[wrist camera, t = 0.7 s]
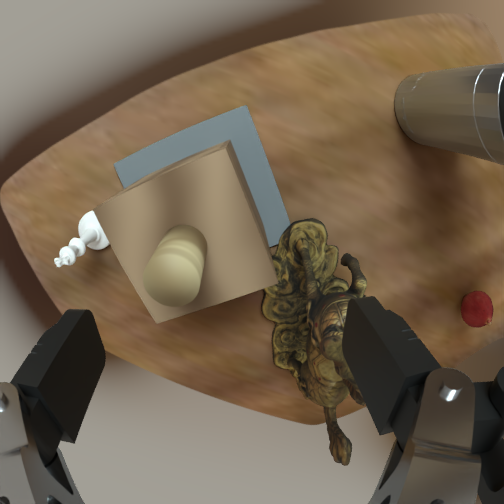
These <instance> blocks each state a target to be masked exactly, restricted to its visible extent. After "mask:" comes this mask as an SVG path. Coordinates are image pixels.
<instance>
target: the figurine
mask: <svg viewBox="0 0 504 504" xmlns="http://www.w3.org/2000/svg"><path fill="white" fill-rule="evenodd" d="M327 237H328V235H327V231H326V228H325V226H324V224H323V223H322V222H321V221H319V220H317V219H313V218H311V219H305V220H300V221H295V222H293V223H292V224H291V225H289V226H288V227H287V228H286V230H285V231H284V232H283V234H282V235H281V237H280V240H279V243H278V248H277V251H276V254H275V255H272V259H273V263H274V267H275V271H276V275H277V279H278V284H275V285H272V286H269V287H267V288H264V289H263V290H264V292H265V294H264V299H263V301H262V306H261V307H262V313H263V315H264V316H265V317H266V318H267V319H269V320H271V321H274V322H275V323H276V325H275V328H274V330H273V334H272V347H273V360H274V364H275V365H276V366H278V367H279V368H282V369H289V370H290V372H291V374H292V376H293V377H296V379H297V384H298V387H299V390H300V391H302V392H303V395H304V397H305V398H306V399H310V400H311V401H313V402H314V403H316V404H318V405H320V406H323V407H324V413H325V417H326V424H327V431H328V434H329V440H330V446H329V449H330V452H331V455H332V456H333V457H334V461H335V462H337V463H342V465H344V466H345V465H348V464H349V462H350V457H351V452H352V443H351V442H350V440H349V439H348V438H347V437H346V436H345V435H344V433H343V432H342V430H341V429H340V428H339V426H338V424H337V419H336V406H337V405H338V404H339V403H341V402H342V401H343V400H344V399H345V398H346V397H347V396H348V394H349V392H350V395H351V397H352V398H353V399H354V400H355V401H356V402H357V403H358V404H360V405H363V406H364V404H365V401H364V399H363V397H362V395H361V392H360V390H359V388H358V386H357V384H356V382H355V379H354V377H353V375H352V373H351V371H350V369H349V367H348V365H347V362H346V360H345V358H344V355H343V351H342V337H343V331H344V325H345V319H346V312H347V306H348V302H349V300H350V299H352V298H361V297H366V295H364V292H365V289H366V285H367V280H366V278H365V276H364V275H363V273H362V272H361V270H360V267H359V262H358V260H357V259H356V258H354V257H352V256H351V255H350V254H348V253H346V254H344V255H343V257H342V258H341V264H342V265H343V266H348V268H349V270H351V273H352V284H351V286H350V288H349V286H348V283H347V282H346V281H345V280H343V279H340V278H337V277H334V275H333V272H334V271H335V269H336V267H337V263H338V248H337V247H336V246H333V245H327V243H326V241H327Z"/></svg>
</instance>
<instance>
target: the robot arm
mask: <svg viewBox="0 0 504 504" xmlns="http://www.w3.org/2000/svg"><path fill="white" fill-rule="evenodd" d="M395 112H396V117H397V119H398V122H399V124H400V126H401V128H402V130H403V131H404V132H405V134H406V135H407V136H408V137H409V138H410V139H412V140H413V141H415V142H417V143H419V144H422V145H426V146H431V147H436V148H440V149H444V150H448V151H453V152H457V153H461V154H465V155H469V156H473V157H477V158H480V159H484V160H488V161H491V162H495V163H498V164H501V165H504V63H501V64H490V65H478V66H469V67H460V68H453V69H445V70H439V71H432V72H426V73H420V74H415V75H411V76H409V77H407V78H406V79H404V80H403V81H402V82H401V84H400V85H399V87H398V89H397V92H396V96H395ZM342 351H343V355H344V358H345V360H346V362H347V365H348V367H349V369H350V371H351V373H352V375H353V377H354V379H355V382H356V384H357V386H358V388H359V390H360V392H361V395H362V397H363V399H364V401H365V403H366V406H367V408H368V410H369V412H370V414H371V416H372V419H373V421H374V423H375V426H376V428H377V430H378V432H379V435H383V434H387V433H390V432H394V434H395V436H396V440H395V442H394V444H393V447H392V449H391V452H390V455H389V458H388V460H387V463H386V465H385V468H384V470H383V473H382V475H381V478H380V480H379V483H378V485H377V487H376V490H375V492H374V494H373V496H372V498H371V500H370V501H369V503H368V504H475V501H476V496H477V493H478V495H479V497H480V500H481V502H482V504H504V439H503V437H504V367H502V368H501V369H500V371H499V372H498V374H497V376H496V377H495V379H494V381H490V382H475V383H473V382H472V380H471V379H470V378H469V377H468V376H467V375H466V374H464V373H463V372H461V371H459V370H456V369H453V368H442V367H441V366H440V365H439V363H438V362H437V361H436V359H435V358H434V357H433V355H432V354H431V353H430V352H429V350H428V349H427V348H426V347H425V345H424V344H423V343H422V341H421V340H420V339H418V338H417V335H416V334H415V333H414V331H413V330H411V328H410V327H409V325H408V324H407V323H406V322H405V320H404V319H403V318H402V317H400V316H399V315H397V314H395V313H394V312H392V311H391V310H385V309H384V308H383V306H382V305H381V304H380V303H379V301H378V300H377V299H376V298H375V297H374V296H370V297H361V298H352V299H350V300H349V302H348V306H347V312H346V319H345V325H344V331H343V337H342ZM105 357H106V356H105V349H104V346H103V343H102V340H101V337H100V334H99V332H98V328H97V325H96V322H95V319H94V316H93V314H92V312H91V311H90V310H81V309H68V310H67V311H66V312H65V313H64V314H63V316H62V317H61V319H60V320H59V321H58V323H57V324H55V325H54V326H52V327H51V328H50V329H48V330H47V331H46V332H45V333H44V334H43V335H42V336H41V338H40V339H39V341H38V342H37V345H35V346H34V348H33V349H32V351H31V353H30V354H29V355H28V356H27V358H26V359H25V361H24V362H23V364H22V365H21V367H20V368H19V370H18V371H17V373H16V374H15V376H14V378H13V379H12V381H11V382H10V383H7V382H0V504H85V503H84V502H83V500H82V498H81V496H80V494H79V492H78V490H77V488H76V486H75V484H74V481H73V479H72V477H71V475H70V472H69V470H68V468H67V465H66V463H65V460H64V457H63V455H62V452H61V450H60V449H59V448H58V445H59V443H60V440H61V441H66V442H70V443H75V441H76V438H77V435H78V432H79V429H80V427H81V424H82V421H83V419H84V416H85V413H86V411H87V408H88V405H89V403H90V400H91V398H92V395H93V393H94V390H95V388H96V385H97V383H98V381H99V378H100V376H101V373H102V371H103V368H104V366H105V359H106V358H105Z"/></svg>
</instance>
